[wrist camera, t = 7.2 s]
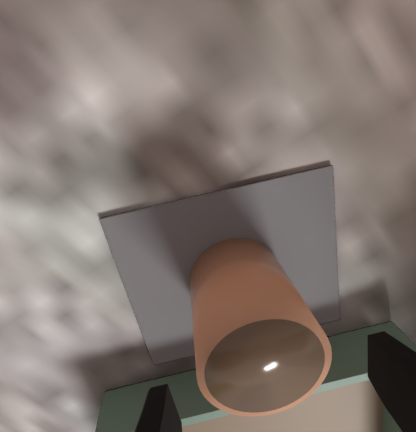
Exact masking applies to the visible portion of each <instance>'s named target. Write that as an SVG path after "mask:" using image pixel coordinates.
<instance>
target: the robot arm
mask: <svg viewBox="0 0 416 432" xmlns="http://www.w3.org/2000/svg"><path fill="white" fill-rule="evenodd" d="M367 337H368V378H369V380H370V382H371V383H372V385H373V387H374V389H375V391H376V392H377V394H378V396H379V397H380V399H381V401H382V402H383V404H384V406H385V408H386V409H387V410H388V412H389V413H390V415H391V416H392V418H393V419H394V420H395V422H396V423H397V425H398V426H399V427H400V429H401V430H402V432H416V352H415V351H413V350H412V349H410V348H409V347H407V346H406V345H404V344H403V343H401V342H400V341H398V340H397V339H395V338H394V337H392V336H391V335H389V334H388V333H386V332H385V331H383V332H379V333H375V334H370V335H367ZM135 432H182V422H181V419H180V417H179V414H178V411H177V408H176V406H175V403H174V400H173V397H172V394H171V392H170V389H169V386H168V384H164V385H160V386H156V387H152V388H150V389H149V391H148V393H147V397H146V400H145V403H144V406H143V409H142V412H141V415H140V418H139V421H138V423H137V426H136V429H135Z"/></svg>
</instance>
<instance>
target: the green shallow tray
mask: <svg viewBox="0 0 416 432" xmlns="http://www.w3.org/2000/svg"><path fill="white" fill-rule="evenodd" d="M383 331H385V332H386V333H388V334H389V335H391V336H392V337H394V338H395V339H397V340H398V341H400V342H401V343H403V344H404V345H406V346H407V347H409V348H410V349H412V350H413V351H415V352H416V345H415V344H414V343H413V342H412V341H411V340H410V339H409V338H408V337H407V336H406V335H405V334H404V333H403V332H402V331H401V330H400V329H399V328H398V327H397V326H396V325H395V324H394V323H393V322H392V321H391V322H387V323H383V324H379V325H375V326H371V327H367V328H362V329H358V330H354V331H350V332H346V333H342V334H338V335H334V336H330V337H327V338H328V339H329V342H330V345H331V350H332V360H331V365H330V369H329V371H328V374H327V376H326V377H325V379H324V381H323V382H322V384H321V385H320V386H319V387H318V388H317V390H316V391H315V392H314V393H312V394H311V395H310V396H309V397H308V398H306V399H305V400H304V401H302V402H301V403H299V404H297V405H295V406H293V407H291V408H289V409H287V410H284V411H282V412H278V413H275V414H271V415H266V416H253V417H248V416H239V415H234V414H230V413H227V412H225V411H222V410H220V409H218V408H217V407H215V406H213V405H212V404H211V403H210V402H209V401H208V400H207V399H206V398H205V397H204V396H203V394H202V392H201V391H200V388H199V386H198V382H197V377H196V369H195V370H191V371H187V372H183V373H179V374H175V375H171V376H167V377H162V378H158V379H154V380H150V381H146V382H142V383H138V384H134V385H130V386H126V387H122V388H118V389H114V390H109V391H105V393H104V397H103V402H102V406H101V410H100V414H99V418H98V422H97V427H96V431H95V432H135V429H136V426H137V423H138V421H139V418H140V415H141V412H142V409H143V406H144V403H145V400H146V397H147V393H148V391H149V389H150V388H152V387H156V386H160V385H164V384H168V386H169V389H170V392H171V394H172V397H173V400H174V403H175V406H176V408H177V411H178V414H179V417H180V419H181V422H182V432H402V430H401V429H400V427H399V426H398V425H397V423H396V422H395V420H394V419H393V418H392V416H391V415H390V413H389V412H388V410H387V409H386V408H385V406H384V404H383V402H382V401H381V399H380V397H379V396H378V394H377V392H376V391H375V389H374V387H373V385H372V383H371V382H370V380H369V378H368V337H367V335H370V334H375V333H379V332H383Z"/></svg>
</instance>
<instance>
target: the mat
mask: <svg viewBox="0 0 416 432" xmlns="http://www.w3.org/2000/svg"><path fill="white" fill-rule="evenodd" d="M99 220H100V222H101V225H102V228H103V230H104V233H105V236H106V238H107V241H108V244H109V246H110V249H111V252H112V254H113V257H114V260H115V262H116V265H117V268H118V271H119V273H120V276H121V279H122V281H123V284H124V287H125V289H126V292H127V295H128V297H129V300H130V303H131V305H132V308H133V311H134V313H135V316H136V319H137V321H138V324H139V327H140V329H141V332H142V335H143V338H144V340H145V343H146V346H147V348H148V351H149V354H150V356H151V359H152V362H153V364H154V365H156V364H160V363H164V362H168V361H172V360H177V359H181V358H185V357H189V356H193V355H195V350H194V337H193V323H192V310H191V297H190V281H189V280H190V273H191V270H192V267H193V265H194V263H195V262H196V260H197V259H198V257H199V256H200V255H201V254H202V253H203V252H204V251H205V250H206V249H208V248H209V247H211V246H212V245H214V244H216V243H218V242H221V241H224V240H227V239H233V238H246V239H251V240H254V241H257V242H259V243H261V244H263V245H265V246H266V247H268V248H269V249H270V250H271V251H272V253H273V254H274V255H275V257H276V258H277V260H278V261H279V263H280V264H281V266H282V267H283V269H284V270H285V272H286V274H287V275H288V277H289V278H290V280H291V281H292V283H293V284H294V286H295V287H296V289H297V291H298V292H299V294H300V295H301V297H302V298H303V300H304V301H305V303H306V305H307V306H308V308H309V309H310V311H311V312H312V314H313V315H314V317H315V318H316V320H317V322H318V323H319V325H320V324H324V323H328V322H332V321H337V320H340V308H339V286H338V264H337V242H336V220H335V198H334V176H333V166H332V165H329V166H325V167H320V168H316V169H312V170H307V171H303V172H298V173H294V174H290V175H285V176H281V177H277V178H272V179H268V180H264V181H259V182H255V183H251V184H246V185H242V186H238V187H233V188H229V189H225V190H220V191H216V192H211V193H207V194H203V195H198V196H194V197H190V198H185V199H181V200H177V201H172V202H168V203H164V204H159V205H155V206H151V207H146V208H142V209H138V210H133V211H129V212H124V213H120V214H116V215H111V216H107V217H103V218H100V219H99Z"/></svg>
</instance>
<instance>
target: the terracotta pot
mask: <svg viewBox="0 0 416 432" xmlns="http://www.w3.org/2000/svg"><path fill="white" fill-rule="evenodd" d="M189 281H190V297H191V310H192V323H193V337H194V350H195V363H196V377H197V382H198V386H199V388H200V391H201V392H202V394H203V396H204V397H205V398H206V399H207V400H208V401H209V402H210V403H211V404H212V405H213V406H215V407H217V408H218V409H220V410H222V411H225V412H227V413H230V414H234V415H239V416H248V417H253V416H266V415H271V414H275V413H278V412H282V411H284V410H287V409H289V408H291V407H293V406H295V405H297V404H299V403H301V402H302V401H304V400H305V399H306V398H308V397H309V396H310V395H311V394H312V393H314V392H315V391H316V390H317V388H318V387H319V386H320V385H321V384H322V382H323V381H324V379H325V377H326V376H327V374H328V371H329V369H330V365H331V360H332V350H331V345H330V342H329V339H328V338H327V336H326V334H325V332H324V331H323V329H322V328H321V326H320V325H319V323H318V322H317V320H316V318H315V317H314V315H313V314H312V312H311V311H310V309H309V308H308V306H307V305H306V303H305V301H304V300H303V298H302V297H301V295H300V294H299V292H298V291H297V289H296V287H295V286H294V284H293V283H292V281H291V280H290V278H289V277H288V275H287V274H286V272H285V270H284V269H283V267H282V266H281V264H280V263H279V261H278V260H277V258H276V257H275V255H274V254H273V253H272V251H271V250H270V249H269V248H268V247H266V246H265V245H263V244H261V243H259V242H257V241H254V240H251V239H246V238H233V239H227V240H224V241H221V242H218V243H216V244H214V245H212V246H211V247H209V248H208V249H206V250H205V251H204V252H203V253H202V254H201V255H200V256H199V257H198V259H197V260H196V262H195V263H194V265H193V267H192V270H191V273H190V280H189Z"/></svg>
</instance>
